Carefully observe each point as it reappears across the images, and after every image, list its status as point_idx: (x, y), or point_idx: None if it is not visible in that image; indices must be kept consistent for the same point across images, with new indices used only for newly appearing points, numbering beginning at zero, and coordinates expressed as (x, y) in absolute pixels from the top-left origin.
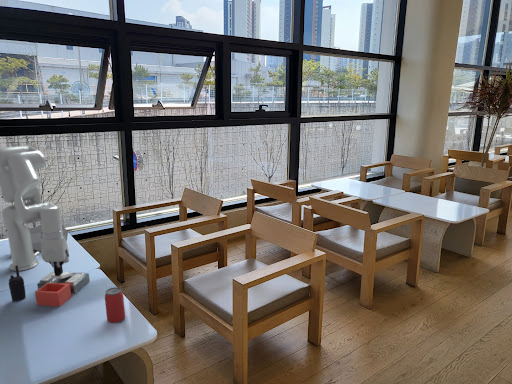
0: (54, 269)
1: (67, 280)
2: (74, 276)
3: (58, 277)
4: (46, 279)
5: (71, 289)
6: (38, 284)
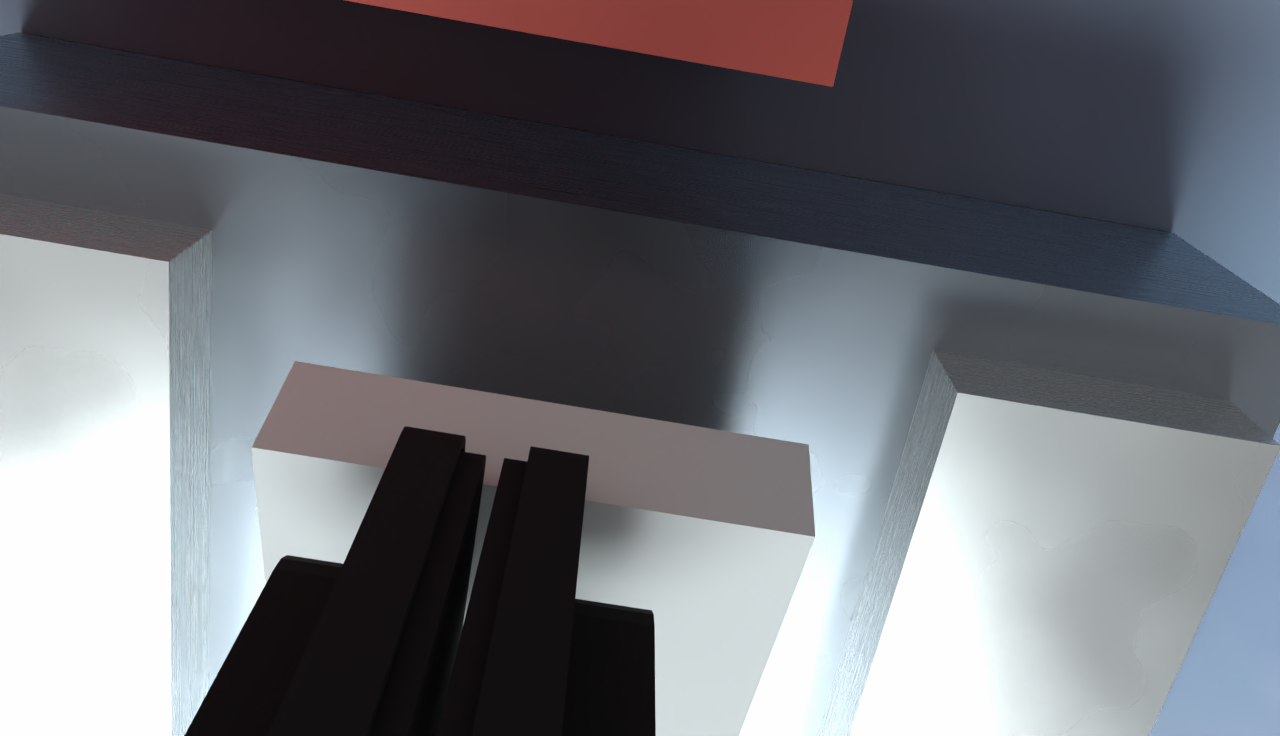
0: (532, 679)
1: (154, 361)
2: (87, 643)
3: (455, 415)
4: (1031, 489)
5: (28, 70)
6: (1256, 310)
